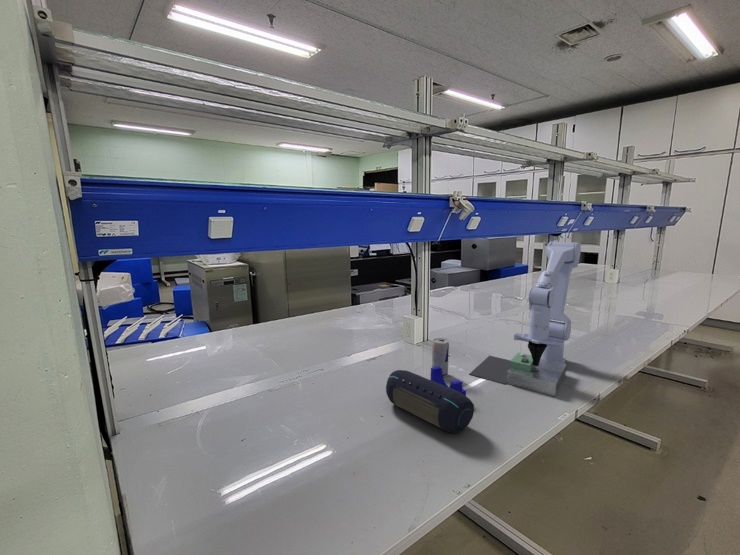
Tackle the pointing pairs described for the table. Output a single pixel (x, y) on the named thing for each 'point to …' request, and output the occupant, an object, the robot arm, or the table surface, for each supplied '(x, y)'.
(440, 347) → the energy drink
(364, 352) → the table surface
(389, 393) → the portable speaker
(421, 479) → the table surface
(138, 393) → the table surface
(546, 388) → the deck
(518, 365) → the thick sage green slab
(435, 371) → the cable clip
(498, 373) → the mat
